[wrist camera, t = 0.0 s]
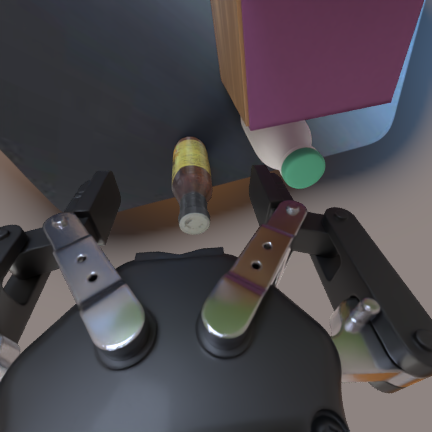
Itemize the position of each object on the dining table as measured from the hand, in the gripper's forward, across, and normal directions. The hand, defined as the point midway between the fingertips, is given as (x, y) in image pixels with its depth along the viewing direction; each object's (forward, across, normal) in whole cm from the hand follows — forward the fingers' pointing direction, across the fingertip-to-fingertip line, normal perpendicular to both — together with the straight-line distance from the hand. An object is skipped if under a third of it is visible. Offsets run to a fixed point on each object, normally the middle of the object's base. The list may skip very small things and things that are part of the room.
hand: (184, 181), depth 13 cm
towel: (+18, -11, -7) cm, 22 cm away
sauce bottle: (+30, 0, +12) cm, 32 cm away
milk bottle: (+30, -13, +6) cm, 33 cm away
